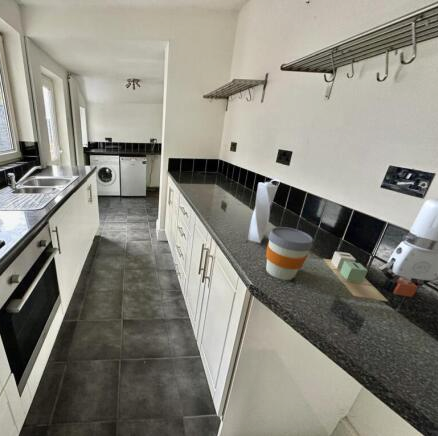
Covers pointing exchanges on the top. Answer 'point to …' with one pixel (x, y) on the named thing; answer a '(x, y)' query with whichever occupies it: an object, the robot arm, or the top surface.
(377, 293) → the word mat
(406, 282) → the orange red cube
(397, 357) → the top surface
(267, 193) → the twisted white column
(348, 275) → the green cube
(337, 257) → the white cube
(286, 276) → the reusable coffee cup
